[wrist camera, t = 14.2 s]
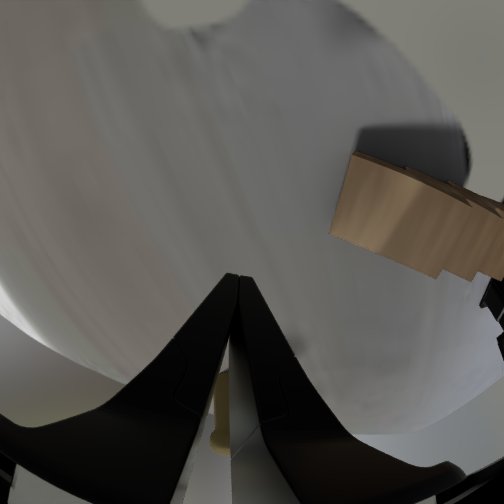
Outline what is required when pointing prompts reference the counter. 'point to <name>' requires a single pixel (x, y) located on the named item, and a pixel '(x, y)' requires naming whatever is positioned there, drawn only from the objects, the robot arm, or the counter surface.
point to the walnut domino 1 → (399, 214)
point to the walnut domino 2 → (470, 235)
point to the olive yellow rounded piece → (221, 416)
